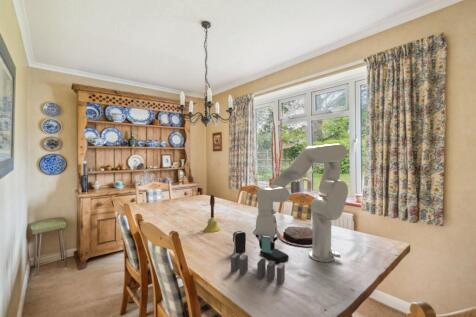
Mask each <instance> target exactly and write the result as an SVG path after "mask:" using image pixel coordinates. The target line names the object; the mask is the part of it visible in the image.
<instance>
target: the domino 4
mask: <svg viewBox="0 0 476 317" xmlns="http://www.w3.org/2000/svg"><path fill="white" fill-rule="evenodd" d="M261 241H262V249H261V250H262V252H267V253H272V252H273V251H271V247H270V243H271V239H270V237H268V236H262V237H261Z"/></svg>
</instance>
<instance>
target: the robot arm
mask: <svg viewBox="0 0 476 317" xmlns="http://www.w3.org/2000/svg"><path fill="white" fill-rule="evenodd" d="M347 154H348V149H347V147H346V146H345V145H344V144H342V143H331V144H330V143H329V144H323V145H311V146H306V147H305V148H303V149H302V150H301V152H300V153H299V154H298V155H297V157H296V158H295V159H294V160H293V162H292V163H291V164H290V165H289V167H288V168H286V169H285V170H283V171H282V172H281V173H280V174H278V175H277V176H276V177H275V178H274V179H273V181H272V182H271V184H270V185H269V187H267V186H265V187H264V186H263V187H259V188H258V189H257V215H256V220H255V229H254V230H253V231H252V235H254V236H255V238H256V239H257V241H258V245H259V246H258V247H259V249H260V250H262V241H261V237H262V236H264V237H270V239H271V243H270V247H271V251H273V249H274V248H275V249H276V247H275V246H276V245H275V242H276V241H277V240H278V239H281V238H280V237H281V235H280V234H281V233H280V232H279V230H278V223H277V217H276V214H277V211H276V210H274V203H285V202H287V201H288V200H290V197H291V193H290V191H289V189H287V188H286V187H287V186H288V185H289V184H291V183H293V182H294V181H298V180H300V179H302V178H304V177H305V175H306V174H307V173H308V171H309V170H310V169H311V167H313V165H314V164H323V171H322V172H323V173H322V175H321V178H320V181H319V185H318V191H319V192H320V194H321V195H324V196H326V197H322V196H318V197H315V198H314V199H312V201H311V203H310V212H311V213H310V214H311V218H312V219H311V220H312V223H311V224H312V226H311V227H312V228H311V229H312V247H311V251H309V253H308V255H309V257H310V258H311V259H312V260H314V261H317V262H322V263H331V262H333V261H334V260H335V258H341V253H339V252H338V251H334V250H333V247H332V221H338V219H340V218H341V217H342V214H343V212H344V208H345V205H346V202H347V199H348V195H349V188H348V187H349V186H348V185H347V183H346V182H345V181H344V180H342V179H340V177H341V173H342V166H341V163H340V161H343V160H344V159H346V157H347V156H348V155H347ZM327 197H328V198H327Z"/></svg>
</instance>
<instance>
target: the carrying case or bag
mask: <svg viewBox="0 0 476 317" xmlns="http://www.w3.org/2000/svg"><path fill="white" fill-rule="evenodd" d="M259 254H260V255H261V256H262V257H264V258H266V259H268V261H269V260H270V261H275V264H280V263H284V262H286V261H288V260H289V258H290V256H289V255H288V254H287V253H285V252H283V251H281V250H279V249H278V248H276V247H275V248H274V249H273V252H272V253H267V252H262V249H260V250H259Z"/></svg>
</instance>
